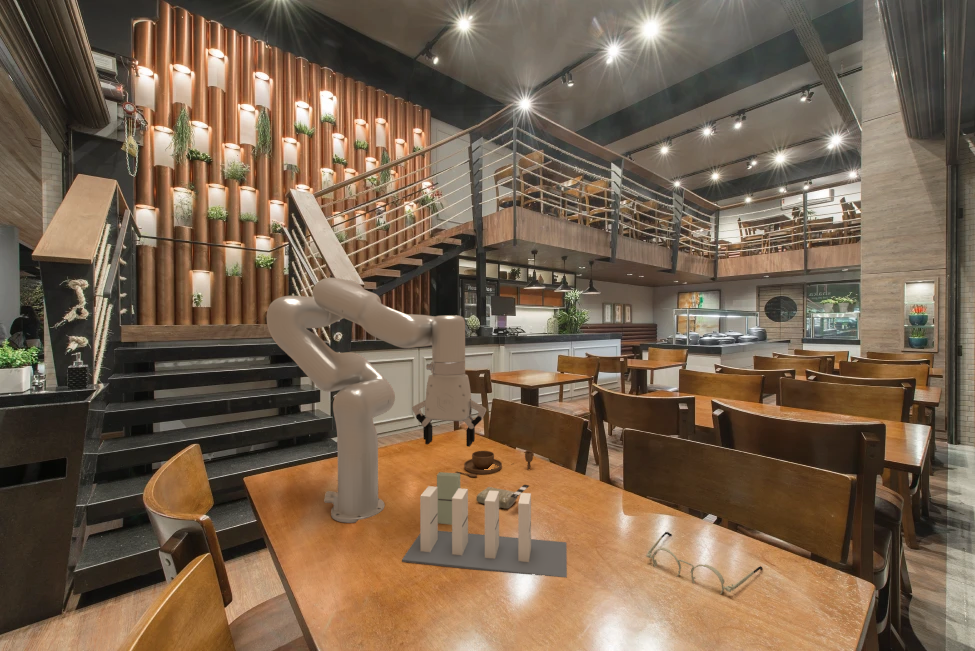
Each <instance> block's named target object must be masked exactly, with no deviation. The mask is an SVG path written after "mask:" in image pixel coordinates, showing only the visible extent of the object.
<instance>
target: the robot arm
mask: <svg viewBox="0 0 975 651" xmlns="http://www.w3.org/2000/svg"><path fill="white" fill-rule="evenodd" d="M311 293H312V296H303V295H285V296H284V295H283V296H281V297H278V298H275V299H274V300H273V301H271V303H270V304H269V306H268V308H267V312H266V325H267V329H268V332H269V335H270V336H271V338H272V340H273V341H274V342H275V343H276V345H277V346H278V347H279V348H280V349H281V350H282V351H283V352H285V354H287V356H288V357H290V358H291V359H292V360H293V361H294V362H295V363H296V365H297V366H298V368H299V369H300V370H302V371H303V373H304V374H305V375H306V376H307V377H308V378H309V380H311V381H312V383H314V385H316V387H317V388H319V390H321V391H323V392H327V393H329V392H336V391H338V392H337V393H336V395H335V396H334V399H333V402H332V411H333V412H332V413H333V416H334V421H335V422H334V423H335V426H336V435H337V436H336V438H337V439H336V440H337V445H336V446H337V492H336V491H330V490H329V491H328V490H327V491H326V492H325V494H324V499H323V501H324V503H325V504H326V503H327V504H332V505H333V507H331V509H330V510H331V511H330V516H331V519H333V520H335V521H337V522H338V523H339V522H340V523H346V524H347V523H348V524H354V523H357V522H358V521H361V520H366V519H368V518H369V519H370V518H372V517H374V516H376V515H378V514H379V513H381V512H383V510H384V508H385V506H386V505H385V502H384V500H382V499H381V498H379V441H378V433H377V428H376V426H375V424H374V418H376V417H380V416H381V415H384V414H386V413H387V412H389V411H390V410H391V409H392V408H393V407H394V404H395V400H396V399H395V398H396V396H395V391H394V388H393V387H392V385H391V384H390V382H389V381H388V380H387V379H386V378H385V377H384V376H383V374H381V372H379V371H378V369H376V368H375V367H374V366H373V364H371V362H369V361H368V359H366V358H365V357H364V356H362V355H360V354H358V353H356V352H352V351H351V352H349V351H347V352H336V351H335V350H333V349H332V348H331V347H330V346H328V345H327V343H326V342H325V341H324V340H323V338H321V337H320V336H319V335H317V334H316V333H313V332H312V331H310V330H309V329H322V328H325V327H328V326H330V325H332V324H334V323H337V322H338V321H341V320H342V319H345V320H346V321H347V320H348V321H350V322H353V323H355V324H356V325H358V326H360V327H362V329H363V330H364V331H365V332H367V333H368V334H369V335H371V336H372V337H375V338H376V339H379V340H381V341H383V342H385V343H388V344H390V345H393V346H395V347H398V348H402V349H410V348H421V347H429V346H431V350H432V351H431V353H432V355H431V358H432V360H431V363H427V364H426V366H425V368H426V370H428V371H431V375H430V374H429V375H428V377H427V382H426V389H425V390H426V391H425V400H423V401H421V402H419V403H417V404H415V405H413V406H412V408H411V409H412V411H413V413H414V415H415V418H416V420H417V421H418V422H419V423H420V424H421V427H423V430H422V432H423V440H425V443H424V444H425V445H429V444H430V443H432V441H433V424H432V423H431V422H432V421H446V422H447V421H448V422H464V423H465V425H466V426H467V428H466V431H465V432H466V434H465V435H466V447H469V448H470V447H471V445H473V443H474V442H475V441H476V440H475V438H476V437H475V436H476V434H475V432H476V431H475V429H476V428H475V427H476V426H477V425H478V424H480V423H481V421H482V420H483V418H484V416H485V414H486V412H487V407H485V406H483V405H481V404H480V403H478V402H476V401H474V400H472V393H471V392H472V390H471V386H470V379H469V376H468V374H466V322H465V318H464V317H463V316H460V315H454V314H453V315H452V314H451V315H450V314H449V315H436V316H434V315H433V316H432V315H428V314H427V315H426V314H411V313H409V314H407V313H404V312H401V311H399V310H396V309H395V308H391V307H389V306H387V305H385V304H383V303H382V300H381V298H380V296H379V295H378V294H377V293H374V292H372V291H368V290H366V289H364V287H363V286H362V285H361V284H360V283H359V282H356V281H353V280H349V279H345V278H337V277H326V278H325V277H324V278H323V279H320V280H319V281H318V282H317V283H315V285H314V286H313V288H312V292H311ZM423 408H424V414H423V413H422V411H421V410H422V409H423ZM473 410H474V411H477V412H478V413H477V416H476V417H475V418H473V417H472V413H473V412H472V411H473Z"/></svg>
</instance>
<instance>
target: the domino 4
mask: <svg viewBox="0 0 975 651" xmlns="http://www.w3.org/2000/svg"><path fill="white" fill-rule="evenodd" d="M517 505H518V506H517V507H518V508H517V509H518V512H517V514H518V516H517V517H518V518H517V519H518V520H517V522H518V525H517V526H518V527H517V529H518V536H517V538H518V561H522V562H529V559H530V552H531V539H532V493H529V492H522V493H521V494H520V495H519V500H518V504H517Z"/></svg>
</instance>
